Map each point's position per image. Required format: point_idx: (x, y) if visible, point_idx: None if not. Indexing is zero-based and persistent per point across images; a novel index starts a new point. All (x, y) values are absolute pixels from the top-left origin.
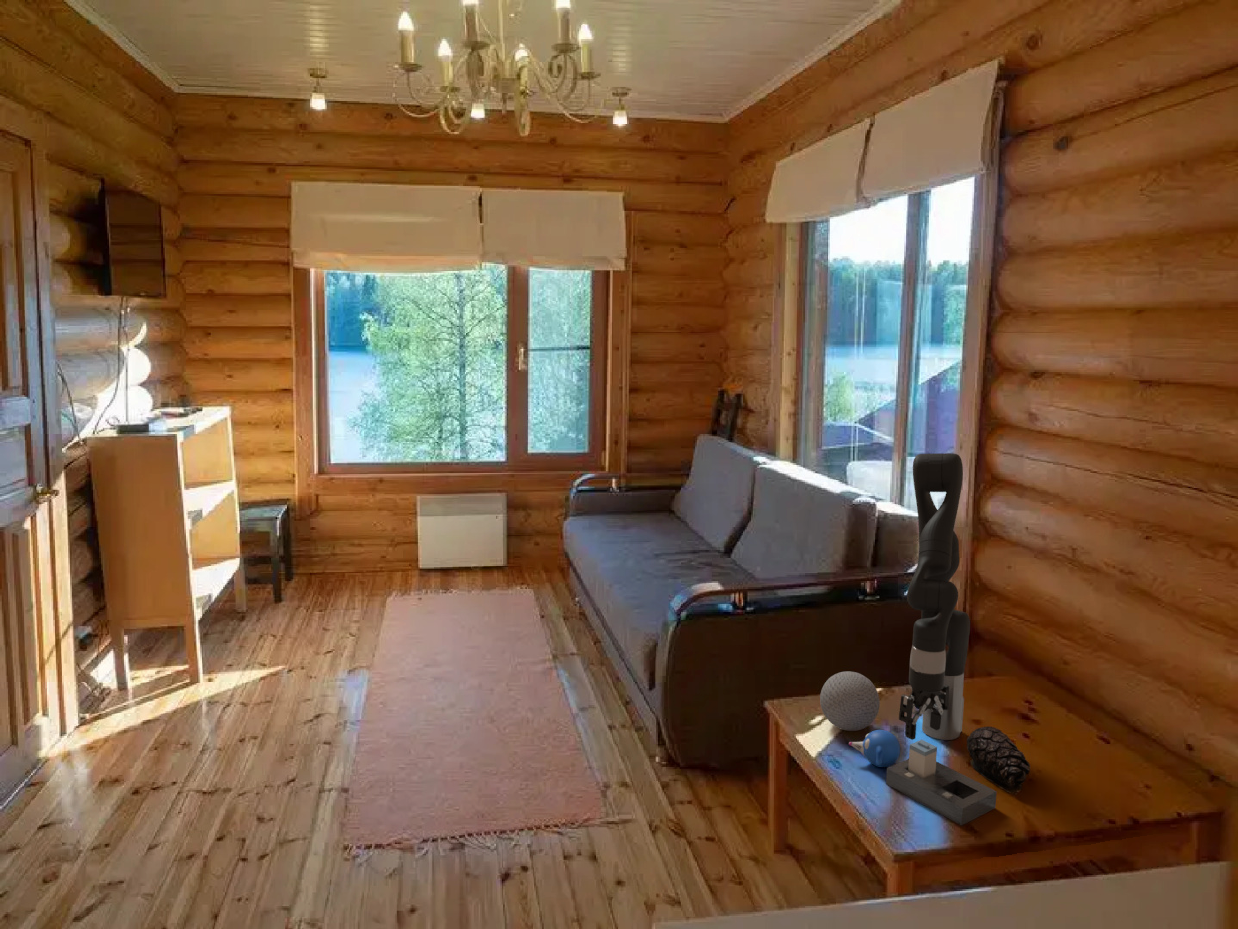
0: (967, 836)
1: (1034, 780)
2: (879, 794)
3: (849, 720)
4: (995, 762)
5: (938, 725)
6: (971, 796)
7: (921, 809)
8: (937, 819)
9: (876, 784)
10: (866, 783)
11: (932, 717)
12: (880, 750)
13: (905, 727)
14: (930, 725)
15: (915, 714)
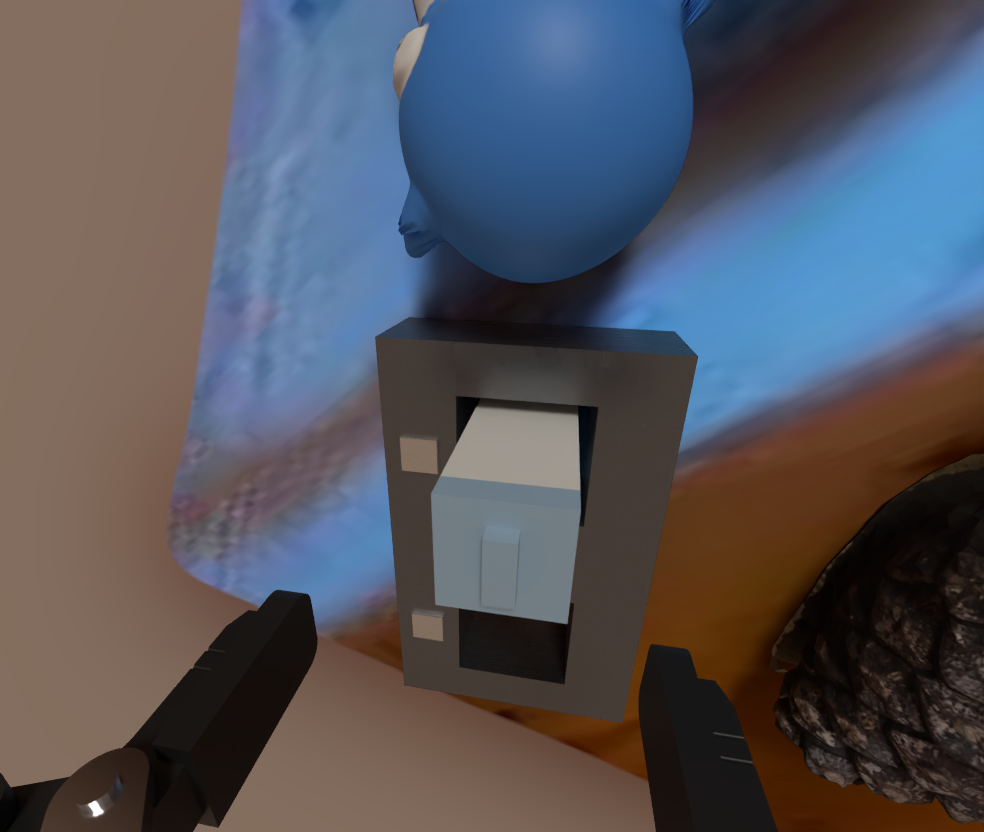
0: (396, 654)
1: None
2: (323, 352)
3: None
4: (857, 698)
5: (650, 765)
6: (504, 679)
7: (389, 510)
8: (389, 569)
9: (370, 288)
10: (334, 251)
11: (674, 788)
12: (412, 228)
13: (172, 690)
14: (656, 658)
15: None
